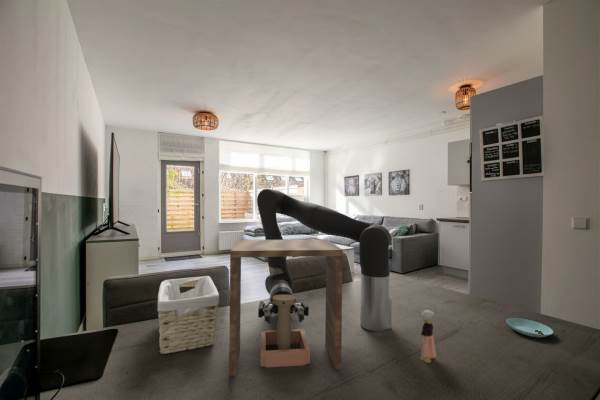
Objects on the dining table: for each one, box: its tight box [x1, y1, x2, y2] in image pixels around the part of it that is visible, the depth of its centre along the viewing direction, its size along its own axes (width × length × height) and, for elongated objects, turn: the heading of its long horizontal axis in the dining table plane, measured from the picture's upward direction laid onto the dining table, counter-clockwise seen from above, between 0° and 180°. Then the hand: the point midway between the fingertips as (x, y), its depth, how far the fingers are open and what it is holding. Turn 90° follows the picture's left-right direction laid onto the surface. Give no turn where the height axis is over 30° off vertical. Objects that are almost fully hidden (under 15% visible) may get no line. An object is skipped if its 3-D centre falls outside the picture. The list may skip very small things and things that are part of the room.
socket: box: [260, 328, 311, 368], centre depth 78 cm, size 12×12×4 cm
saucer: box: [505, 317, 554, 338], centre depth 92 cm, size 12×12×2 cm
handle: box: [272, 294, 297, 350], centre depth 78 cm, size 5×6×15 cm
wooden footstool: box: [228, 239, 343, 377], centre depth 78 cm, size 27×18×30 cm, turn 97°
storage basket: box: [156, 275, 220, 355], centre depth 88 cm, size 24×16×15 cm
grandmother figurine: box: [419, 309, 437, 364], centre depth 76 cm, size 8×4×13 cm, turn 148°
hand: (284, 319), depth 76 cm, fingers open, 8 cm apart
